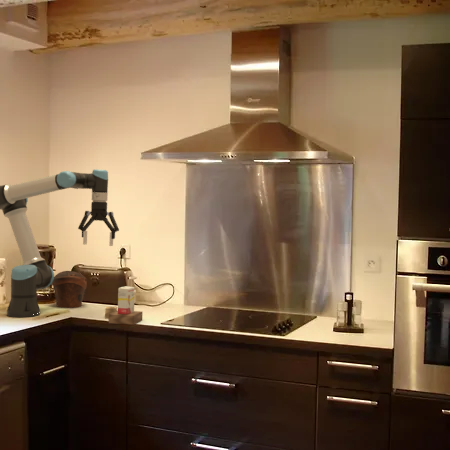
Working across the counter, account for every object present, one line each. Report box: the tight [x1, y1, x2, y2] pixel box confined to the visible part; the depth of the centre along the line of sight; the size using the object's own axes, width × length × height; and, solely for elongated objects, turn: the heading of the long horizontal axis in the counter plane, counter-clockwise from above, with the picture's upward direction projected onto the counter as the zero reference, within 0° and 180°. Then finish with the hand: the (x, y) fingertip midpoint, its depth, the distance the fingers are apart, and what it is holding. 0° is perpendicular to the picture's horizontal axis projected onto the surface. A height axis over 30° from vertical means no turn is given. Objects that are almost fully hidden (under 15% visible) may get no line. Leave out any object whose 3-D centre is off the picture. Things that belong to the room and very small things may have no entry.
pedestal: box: [108, 310, 144, 326], centre depth 288 cm, size 12×12×4 cm
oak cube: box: [104, 306, 118, 320], centre depth 298 cm, size 5×5×5 cm
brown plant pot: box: [50, 270, 88, 309], centre depth 329 cm, size 18×20×18 cm
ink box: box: [117, 285, 136, 314], centre depth 288 cm, size 9×5×12 cm, turn 165°
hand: (98, 245), depth 305 cm, fingers open, 13 cm apart
